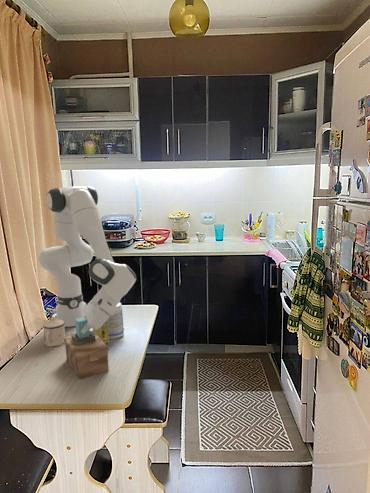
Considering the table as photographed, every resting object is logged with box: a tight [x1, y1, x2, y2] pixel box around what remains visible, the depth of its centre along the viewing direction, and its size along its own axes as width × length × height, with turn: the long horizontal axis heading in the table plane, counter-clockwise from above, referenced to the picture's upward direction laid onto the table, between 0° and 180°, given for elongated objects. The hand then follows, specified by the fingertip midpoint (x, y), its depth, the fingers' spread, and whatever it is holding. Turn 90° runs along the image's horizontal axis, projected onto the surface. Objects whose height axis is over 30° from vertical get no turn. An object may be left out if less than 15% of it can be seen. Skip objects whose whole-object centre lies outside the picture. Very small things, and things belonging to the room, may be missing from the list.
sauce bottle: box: [92, 321, 109, 346], centre depth 176 cm, size 6×6×20 cm
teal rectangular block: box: [75, 317, 91, 339], centre depth 159 cm, size 4×4×8 cm
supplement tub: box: [107, 301, 125, 340], centre depth 187 cm, size 10×10×15 cm
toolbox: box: [63, 329, 110, 380], centre depth 159 cm, size 19×12×12 cm, turn 30°
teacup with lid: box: [42, 316, 66, 347], centre depth 180 cm, size 12×9×12 cm
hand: (81, 329), depth 159 cm, fingers closed on teal rectangular block, 4 cm apart
